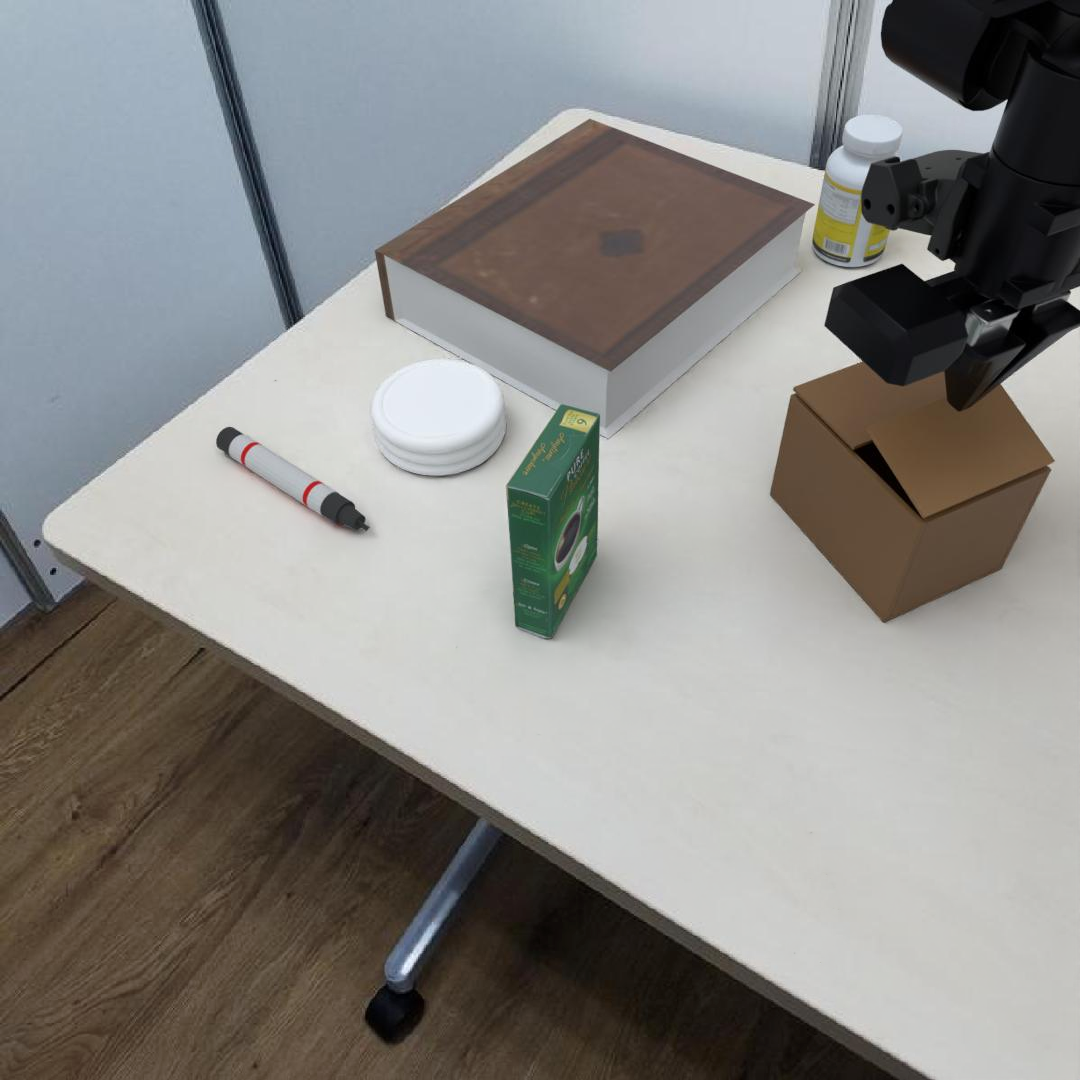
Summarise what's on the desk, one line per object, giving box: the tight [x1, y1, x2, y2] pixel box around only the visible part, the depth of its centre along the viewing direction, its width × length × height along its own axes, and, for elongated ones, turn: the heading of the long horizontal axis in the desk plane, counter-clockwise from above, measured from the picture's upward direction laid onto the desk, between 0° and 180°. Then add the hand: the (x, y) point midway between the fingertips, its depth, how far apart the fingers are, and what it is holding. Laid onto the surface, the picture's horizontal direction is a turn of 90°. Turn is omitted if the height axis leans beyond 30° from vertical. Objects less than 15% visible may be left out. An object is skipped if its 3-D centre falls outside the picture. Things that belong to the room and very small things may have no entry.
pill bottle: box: [811, 114, 904, 268], centre depth 88 cm, size 6×6×12 cm
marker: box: [215, 426, 370, 532], centre depth 73 cm, size 15×2×2 cm, turn 52°
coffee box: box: [505, 404, 600, 639], centre depth 63 cm, size 8×3×13 cm, turn 155°
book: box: [374, 118, 816, 440], centre depth 87 cm, size 24×28×6 cm
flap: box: [866, 383, 1056, 518], centre depth 60 cm, size 6×10×1 cm, turn 116°
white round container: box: [369, 358, 507, 476], centre depth 76 cm, size 10×10×4 cm
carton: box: [769, 361, 1052, 623], centre depth 66 cm, size 13×10×10 cm
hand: (957, 405), depth 59 cm, fingers closed
